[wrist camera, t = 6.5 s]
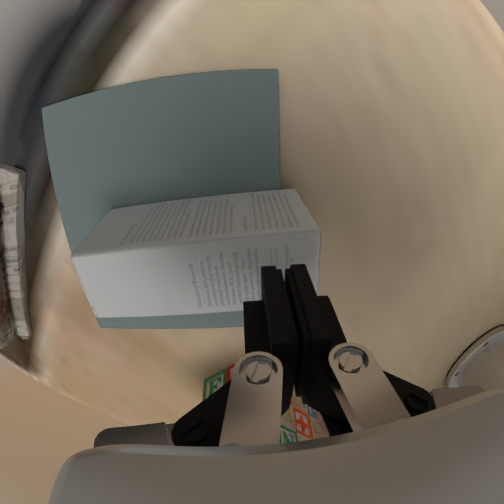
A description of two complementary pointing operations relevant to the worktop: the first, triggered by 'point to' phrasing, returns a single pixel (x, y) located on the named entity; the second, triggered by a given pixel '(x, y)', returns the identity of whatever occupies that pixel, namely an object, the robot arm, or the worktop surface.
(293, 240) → the skincare box
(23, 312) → the packaged product
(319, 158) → the worktop surface
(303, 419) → the stack of blocks
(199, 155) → the mat
